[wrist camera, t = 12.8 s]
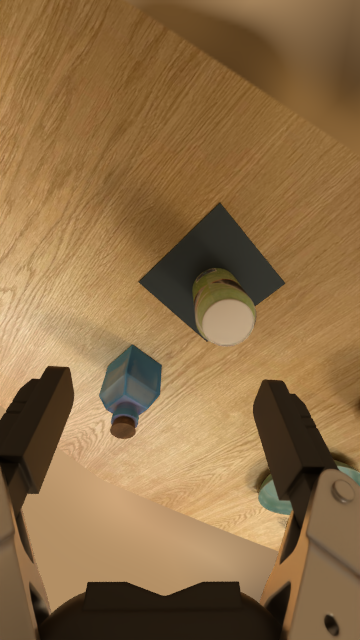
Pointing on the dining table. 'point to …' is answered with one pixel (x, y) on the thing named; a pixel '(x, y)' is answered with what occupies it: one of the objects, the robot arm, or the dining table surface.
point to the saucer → (273, 504)
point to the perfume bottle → (130, 390)
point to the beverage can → (222, 308)
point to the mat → (210, 265)
